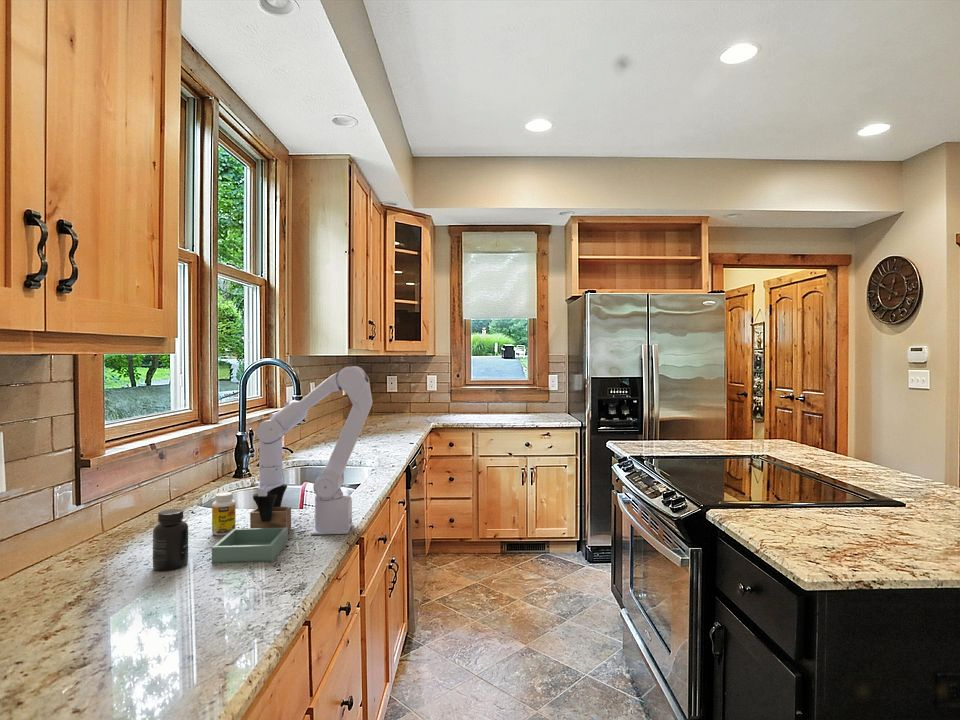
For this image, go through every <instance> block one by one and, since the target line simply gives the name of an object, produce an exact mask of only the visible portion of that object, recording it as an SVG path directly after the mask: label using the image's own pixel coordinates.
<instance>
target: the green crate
mask: <svg viewBox="0 0 960 720" xmlns="http://www.w3.org/2000/svg"><path fill="white" fill-rule="evenodd" d="M288 535H289V532H288V527H287V528H250V527H249V528H235V529H233V530H232V531H230V532H229V533H228V534H227V535H224V536H223V538H221V539H220V540H218V541H217V542H216V543H215V544H214V545H213V546H212V547H211V564H212V565H217V564H218V565H220V564H250V563H253V564H254V563H256V564H257V563H273V561H274V560H275V559H276V557H277V556H278V555H279V554H280V552H281V551H282V550H283V548H284V547H285V546H286V545H287V544H288V540H289V539H288V538H289V537H288ZM286 543H287V544H286Z"/></svg>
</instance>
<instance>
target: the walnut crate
mask: <svg viewBox="0 0 960 720" xmlns="http://www.w3.org/2000/svg"><path fill="white" fill-rule="evenodd" d="M249 514H250V515H249V528H287V527H288V531H291V529H292V506H281V507H273V511H272V518H271V521H270V522H262V521H261V517H260V513H259V509H258V506H256V507H255V508H253V509H252V511H250V513H249ZM290 528H291V529H290Z"/></svg>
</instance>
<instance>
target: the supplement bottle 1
mask: <svg viewBox="0 0 960 720" xmlns="http://www.w3.org/2000/svg"><path fill="white" fill-rule="evenodd" d="M157 516H158V517H157V522H158V524H156V525H155V526H154V528H153V529H152V567H153V569H154V570H155V571H156V572H157V571H159V572H167V571H168V572H169V571H174V570H177V569H180V568H183V567H185V566H186V565H187V564H188V563H189V524H188V523H187V522H186V521H184V518H185V517H184V516H185V515H184V510H183V509H181V508H170V509H165V510H164V509H163V510H161V511H159V512H158V515H157Z"/></svg>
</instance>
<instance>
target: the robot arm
mask: <svg viewBox="0 0 960 720" xmlns="http://www.w3.org/2000/svg"><path fill="white" fill-rule="evenodd" d="M342 390H343V391H344V393H346V395H348V398H349V399H350V402H351V404H352V407H351V409H350V411H349V413H348V416H347V418H346V419H345V420H346V421H345V423H344V425H343V427H342V429H341V432H340V434H339V436H338V439H337V441H336V443H335V446H334V447H333V451H332V452H331V455H330V458H329V459H328V461H327V463H326V465H325V467H324V469H323V471H322V473H321V474H320V476H318V477H317V478H316V479H315V481H314V483H313V486H312V487H313V492H314V494H315V495H314V527H313V529H312V530H311V532H310V535H344V534H345V535H346V534H349V532H350V530H351V528H352V526H353V502H352V501H353V500H352V496H350V495H349V496H348V495H344V492H343V491H342V489H341V488H342V486H343V484H344V482H345V481H344V480H345V478H344V477H345V476H344V475H345V471H346V468H347V464H348V463H349V460H350V457H351V455H352V452H353V450H354V448H355V446H356V444H357V441H358V440H359V436H360V434H361V432H362V429H363V428H364V425H365V424H366V423H365V422H366V421H367V418H368V416H369V413H370V411H371V408H372V406H373V395H372V391H371V385H370V378H369V376H368V374H367V373H366V372H365V370H364V369H363V368H362V367H361V366H357V365H353V366H345V367H344V368H342V369H341V370H340V371H339V372H336V373H334V374H332V375H330V376H328V378H326V379H324V381H322V382H321V383H319V385H317V386H316V387H315V388H314V389H312V390H311V391H310V392H309V393H308V394H306V395H305V396H304V397H303V398H302V399H301V400H291V401H286V402H284V403H283V407H282V408H281V409H279V410H278V411H276V412H275V413H271V414H270V415H269V419H267V420H263V421H261V423H260V424H259V425H258V426H257V428H256V431H255V432H256V437H257V438H258V440H259V448H258V449H259V450H258V452H259V453H258V454H259V455H258V457H259V459H258V467H259V468H258V473H259V474H258V476H259V477H258V480H259V481H258V480H257V481H255V482H254V483H253V484H254V486H258V488H257V493H254V494H253V495H252V499H253V501H254V502H255V504H256V507H258V509H259V513H260V517H261V521H262V522H270V521H271V518H272V511H273V507H282V502H283V499H284V498H283V497H284V495H285V492H286V490H287V489H288V484H285V483H284V479H283V437H284V436H285V434H286V433H288V432H289V431H291V430H292V429H293V428H294V427H296V426H297V425H299V423H301V422H302V421H303V420H304V419H306V418H307V416H308V411H309V410H310V409H311V408H312V407H313V406H315V405H316V404H319V402H320V401H322V400H323V399H324V398H326V397H327V396H329V395H330V394H331V393H334V392H340V391H342Z"/></svg>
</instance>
